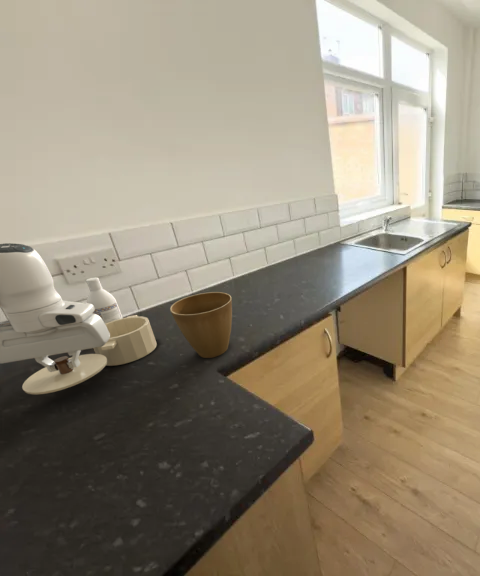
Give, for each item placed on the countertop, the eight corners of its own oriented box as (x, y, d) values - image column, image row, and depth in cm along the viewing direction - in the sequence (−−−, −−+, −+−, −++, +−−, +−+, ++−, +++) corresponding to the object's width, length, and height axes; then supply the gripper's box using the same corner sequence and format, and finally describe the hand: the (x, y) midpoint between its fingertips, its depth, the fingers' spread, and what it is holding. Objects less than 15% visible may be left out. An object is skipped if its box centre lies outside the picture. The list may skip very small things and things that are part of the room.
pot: (85, 376, 83) (72, 349, 80) (115, 341, 100) (105, 317, 97) (145, 365, 88) (136, 338, 84) (164, 333, 104) (157, 309, 101)
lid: (7, 404, 67) (-4, 386, 66) (48, 365, 80) (40, 349, 79) (91, 386, 72) (83, 369, 70) (118, 352, 85) (111, 337, 83)
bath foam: (102, 335, 104) (78, 278, 96) (128, 329, 107) (107, 273, 100) (100, 344, 98) (74, 284, 91) (128, 337, 102) (105, 279, 94)
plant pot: (183, 372, 84) (165, 319, 78) (188, 345, 97) (173, 297, 91) (243, 357, 90) (231, 306, 84) (241, 334, 102) (230, 288, 96)
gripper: (-35, 332, 64) (-2, 387, 69) (88, 314, 70) (110, 366, 76) (-11, 318, 70) (18, 370, 75) (101, 303, 76) (121, 352, 81)
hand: (65, 368), depth 75 cm, fingers closed on lid, 2 cm apart
